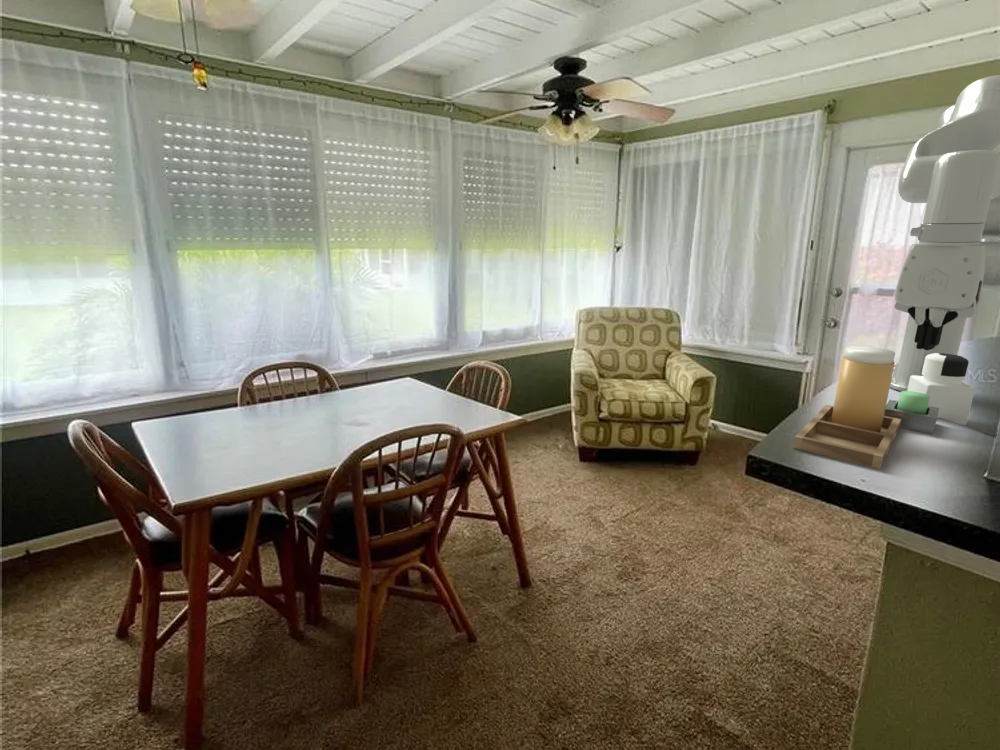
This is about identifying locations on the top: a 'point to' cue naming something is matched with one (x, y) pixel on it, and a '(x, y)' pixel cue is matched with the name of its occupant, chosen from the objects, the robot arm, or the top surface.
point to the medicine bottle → (945, 386)
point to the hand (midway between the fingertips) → (925, 348)
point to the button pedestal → (913, 418)
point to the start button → (913, 402)
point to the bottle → (863, 387)
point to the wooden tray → (847, 439)
